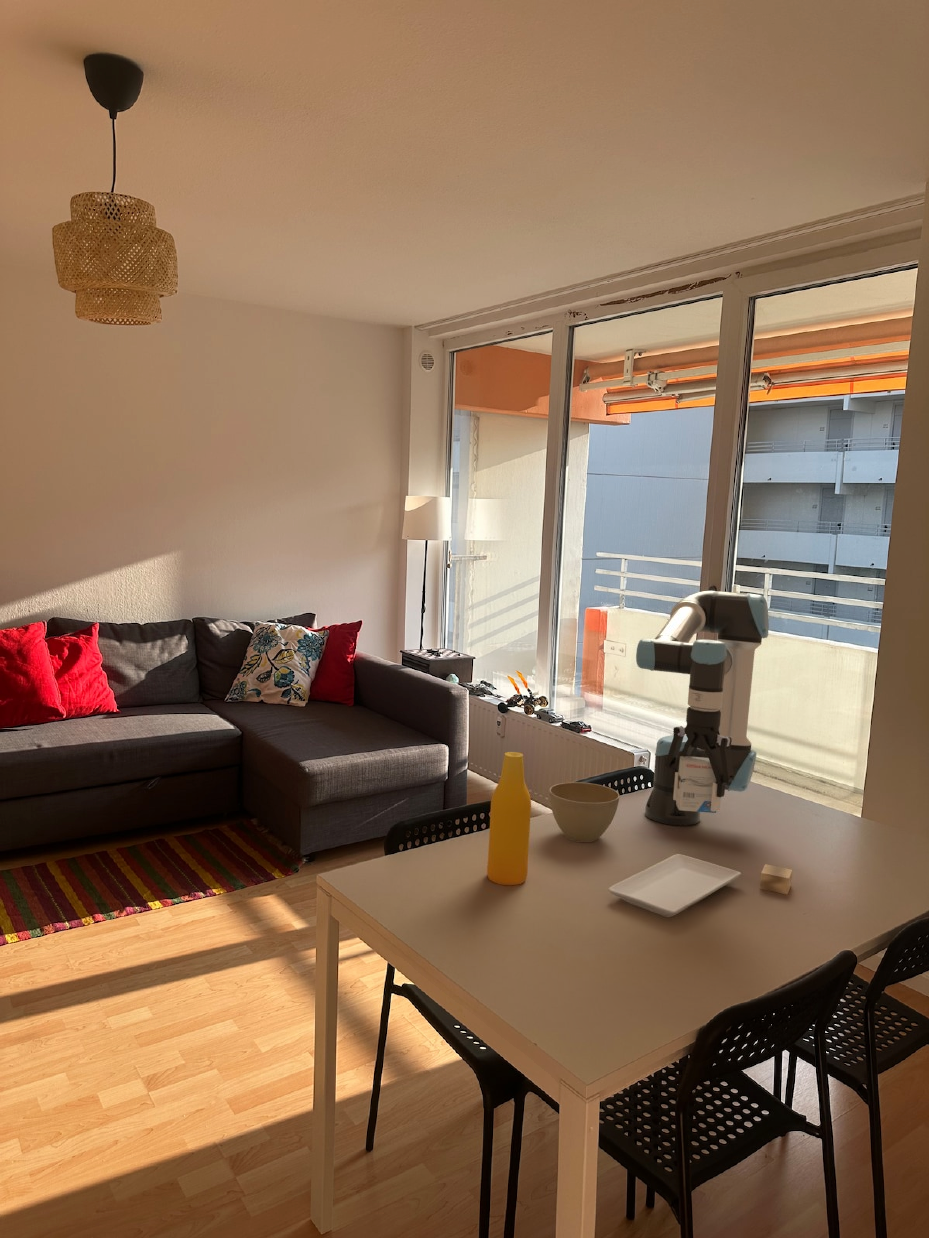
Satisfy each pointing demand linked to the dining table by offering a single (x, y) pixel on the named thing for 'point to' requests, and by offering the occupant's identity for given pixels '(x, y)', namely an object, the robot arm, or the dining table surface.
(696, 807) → the ink box
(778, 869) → the oak block
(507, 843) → the beer bottle
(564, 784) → the beige round bowl
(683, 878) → the tray
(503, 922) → the dining table surface
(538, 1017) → the dining table surface
